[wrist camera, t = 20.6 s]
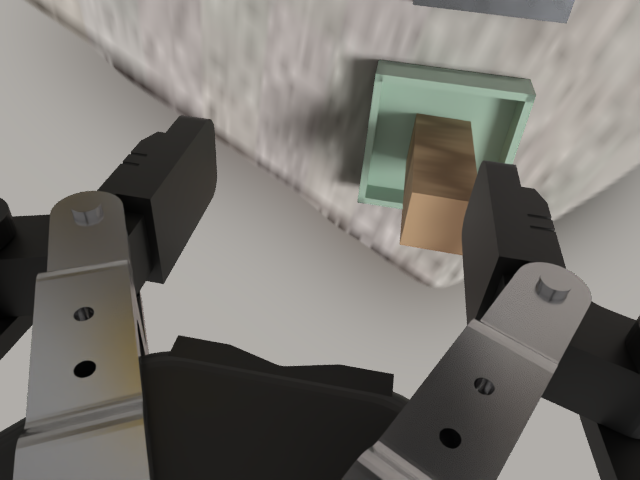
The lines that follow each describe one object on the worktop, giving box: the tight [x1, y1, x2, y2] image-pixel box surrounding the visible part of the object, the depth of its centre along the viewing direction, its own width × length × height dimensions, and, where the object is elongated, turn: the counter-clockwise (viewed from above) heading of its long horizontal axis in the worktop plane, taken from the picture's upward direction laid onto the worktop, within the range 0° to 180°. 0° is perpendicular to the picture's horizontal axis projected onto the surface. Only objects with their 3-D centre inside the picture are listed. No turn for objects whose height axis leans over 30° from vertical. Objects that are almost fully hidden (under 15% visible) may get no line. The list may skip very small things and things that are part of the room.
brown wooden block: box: [400, 113, 477, 255], centre depth 41 cm, size 4×4×12 cm
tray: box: [358, 60, 536, 209], centre depth 45 cm, size 12×12×3 cm
